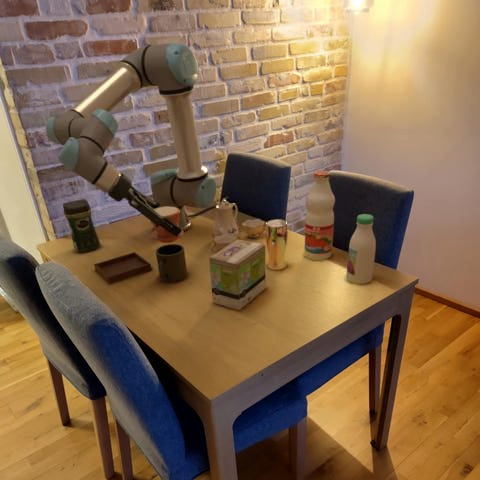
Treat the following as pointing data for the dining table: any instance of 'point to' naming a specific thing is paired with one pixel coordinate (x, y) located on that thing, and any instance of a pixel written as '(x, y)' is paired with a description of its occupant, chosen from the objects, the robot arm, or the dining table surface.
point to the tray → (122, 267)
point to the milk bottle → (361, 251)
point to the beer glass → (276, 243)
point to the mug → (171, 263)
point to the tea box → (237, 273)
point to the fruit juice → (319, 218)
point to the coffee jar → (81, 225)
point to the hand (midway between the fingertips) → (176, 227)
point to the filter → (160, 232)
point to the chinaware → (231, 225)
